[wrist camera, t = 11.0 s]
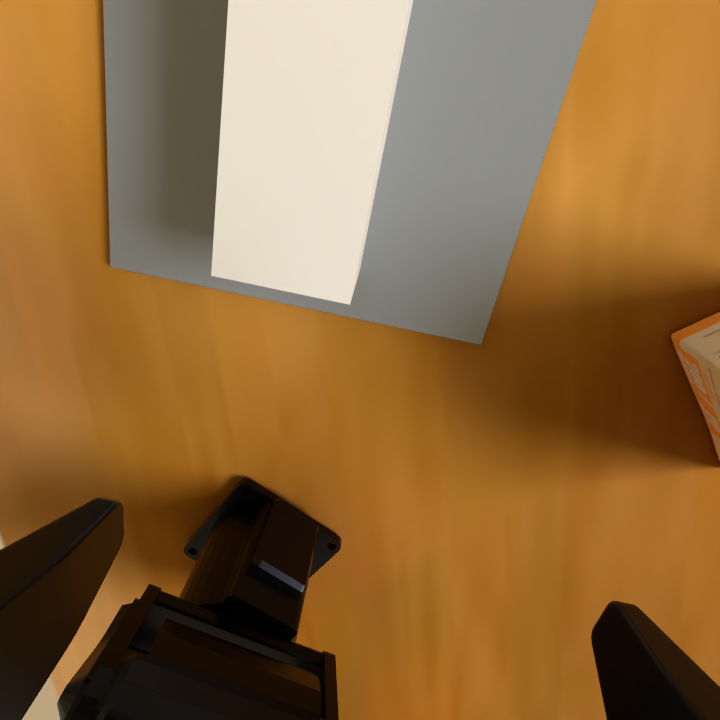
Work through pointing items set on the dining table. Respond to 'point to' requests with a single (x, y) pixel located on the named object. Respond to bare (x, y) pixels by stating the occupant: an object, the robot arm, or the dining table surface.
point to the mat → (399, 161)
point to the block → (303, 139)
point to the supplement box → (703, 368)
